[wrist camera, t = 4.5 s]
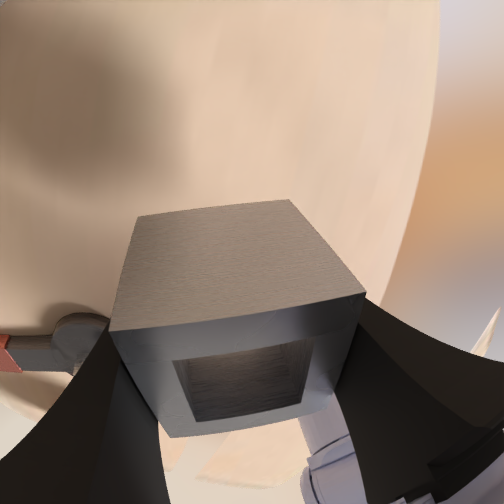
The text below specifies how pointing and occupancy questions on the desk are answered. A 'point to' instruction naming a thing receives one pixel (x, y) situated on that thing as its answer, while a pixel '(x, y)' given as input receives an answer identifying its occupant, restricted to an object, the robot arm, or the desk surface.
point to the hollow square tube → (233, 316)
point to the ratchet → (53, 346)
